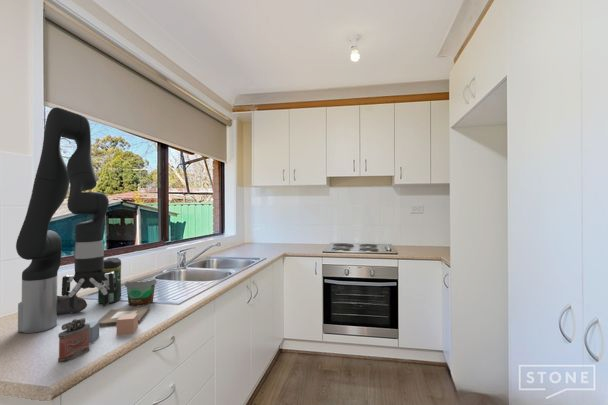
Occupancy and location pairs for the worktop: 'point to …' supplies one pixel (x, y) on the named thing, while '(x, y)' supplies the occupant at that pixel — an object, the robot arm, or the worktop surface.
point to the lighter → (73, 340)
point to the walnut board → (114, 314)
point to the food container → (140, 292)
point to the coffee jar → (109, 267)
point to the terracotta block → (127, 324)
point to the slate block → (93, 331)
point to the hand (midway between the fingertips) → (90, 306)
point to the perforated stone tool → (65, 308)
